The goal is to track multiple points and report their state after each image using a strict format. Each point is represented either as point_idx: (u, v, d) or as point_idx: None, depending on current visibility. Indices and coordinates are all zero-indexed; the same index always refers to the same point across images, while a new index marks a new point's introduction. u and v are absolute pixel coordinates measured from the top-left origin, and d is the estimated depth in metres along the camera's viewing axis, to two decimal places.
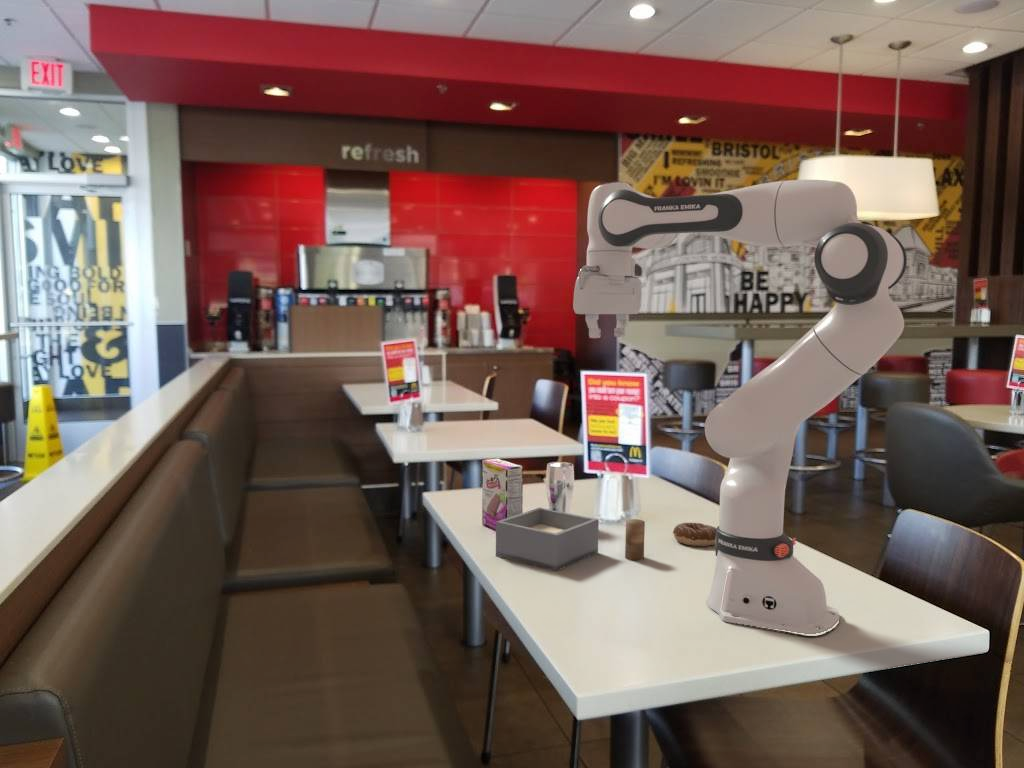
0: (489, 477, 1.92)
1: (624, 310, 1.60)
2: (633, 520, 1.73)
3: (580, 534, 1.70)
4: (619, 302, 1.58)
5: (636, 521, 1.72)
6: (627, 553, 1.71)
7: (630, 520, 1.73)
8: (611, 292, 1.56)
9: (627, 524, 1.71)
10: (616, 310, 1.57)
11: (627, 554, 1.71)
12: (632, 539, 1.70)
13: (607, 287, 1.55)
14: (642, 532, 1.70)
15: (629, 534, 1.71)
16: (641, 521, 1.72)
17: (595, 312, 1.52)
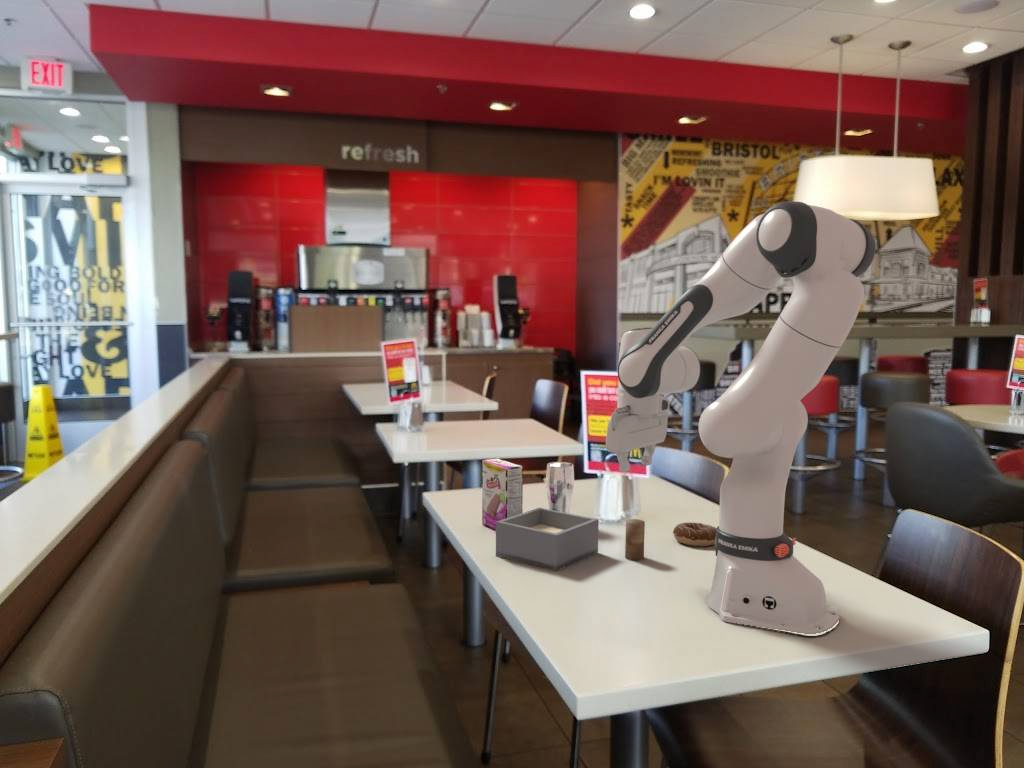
0: (489, 477, 1.92)
1: (651, 442, 1.72)
2: (633, 520, 1.73)
3: (580, 534, 1.70)
4: (647, 436, 1.70)
5: (636, 521, 1.72)
6: (627, 553, 1.71)
7: (630, 520, 1.73)
8: (640, 428, 1.68)
9: (627, 524, 1.71)
10: (644, 444, 1.69)
11: (627, 554, 1.71)
12: (632, 539, 1.70)
13: (636, 425, 1.66)
14: (642, 532, 1.70)
15: (629, 534, 1.71)
16: (641, 521, 1.72)
17: (626, 451, 1.63)
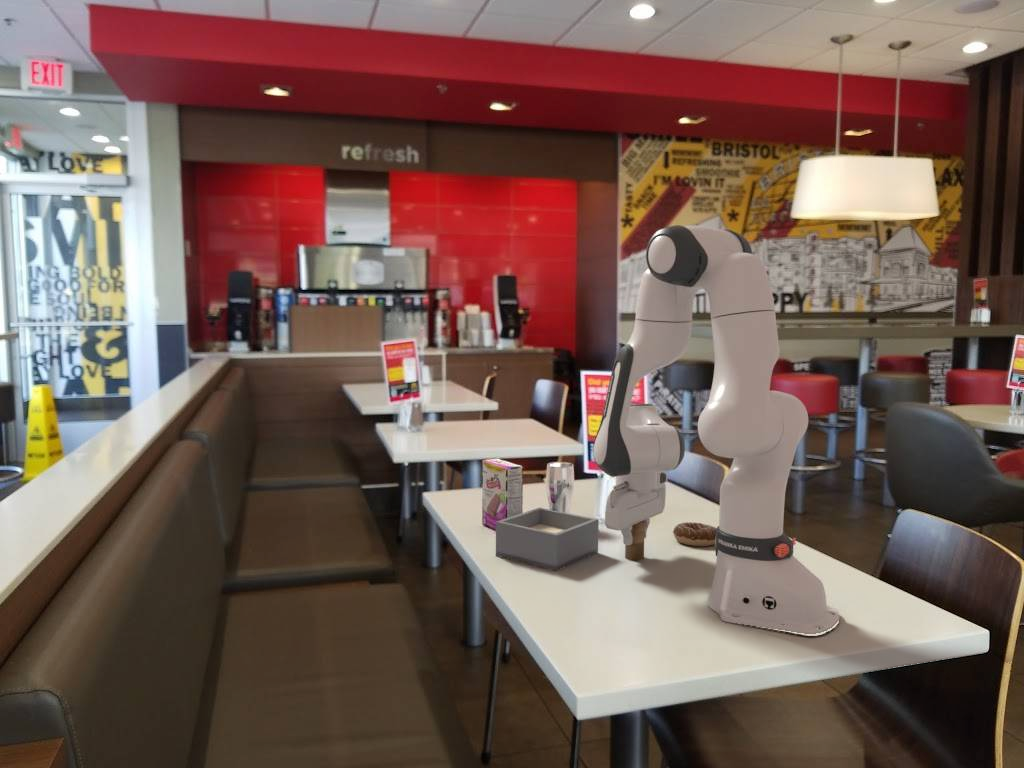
0: (489, 477, 1.92)
1: (650, 515, 1.73)
2: None
3: (580, 534, 1.70)
4: (645, 510, 1.71)
5: None
6: (627, 553, 1.71)
7: None
8: (639, 503, 1.69)
9: None
10: (643, 518, 1.71)
11: (627, 554, 1.71)
12: None
13: (635, 500, 1.68)
14: (642, 532, 1.70)
15: None
16: (641, 521, 1.72)
17: (625, 527, 1.65)
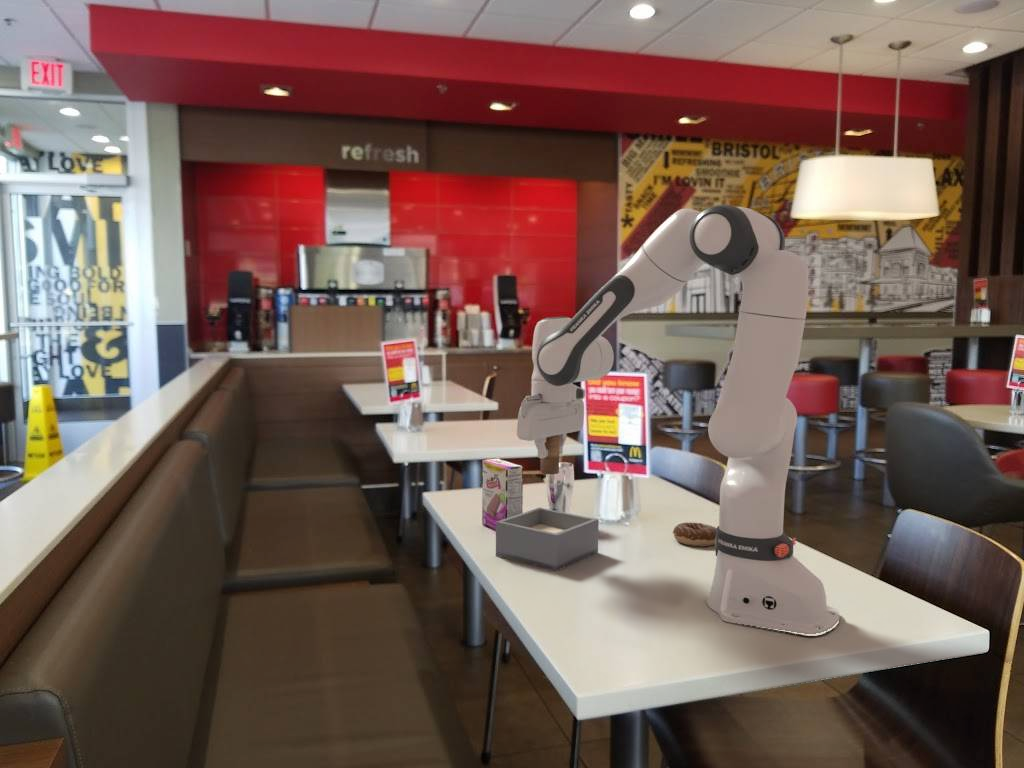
0: (489, 477, 1.92)
1: (566, 430, 1.73)
2: None
3: (580, 534, 1.70)
4: (561, 424, 1.72)
5: None
6: (542, 467, 1.72)
7: None
8: (553, 416, 1.70)
9: None
10: (558, 432, 1.71)
11: (542, 468, 1.72)
12: None
13: (549, 413, 1.68)
14: (556, 446, 1.71)
15: None
16: None
17: (536, 438, 1.65)
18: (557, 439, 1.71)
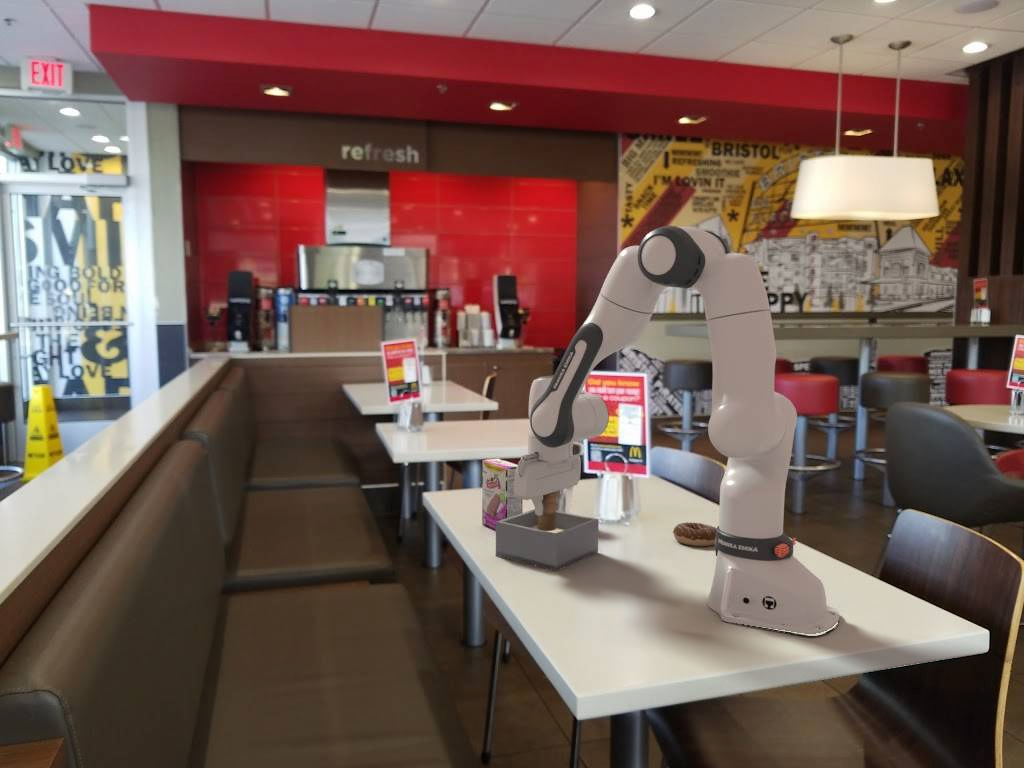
0: (489, 477, 1.92)
1: (563, 486, 1.75)
2: None
3: (580, 534, 1.70)
4: (558, 481, 1.73)
5: None
6: (539, 523, 1.73)
7: None
8: (550, 474, 1.71)
9: None
10: (555, 489, 1.72)
11: (539, 524, 1.73)
12: None
13: (545, 471, 1.69)
14: (553, 502, 1.72)
15: None
16: (553, 492, 1.73)
17: (534, 497, 1.66)
18: (554, 496, 1.72)
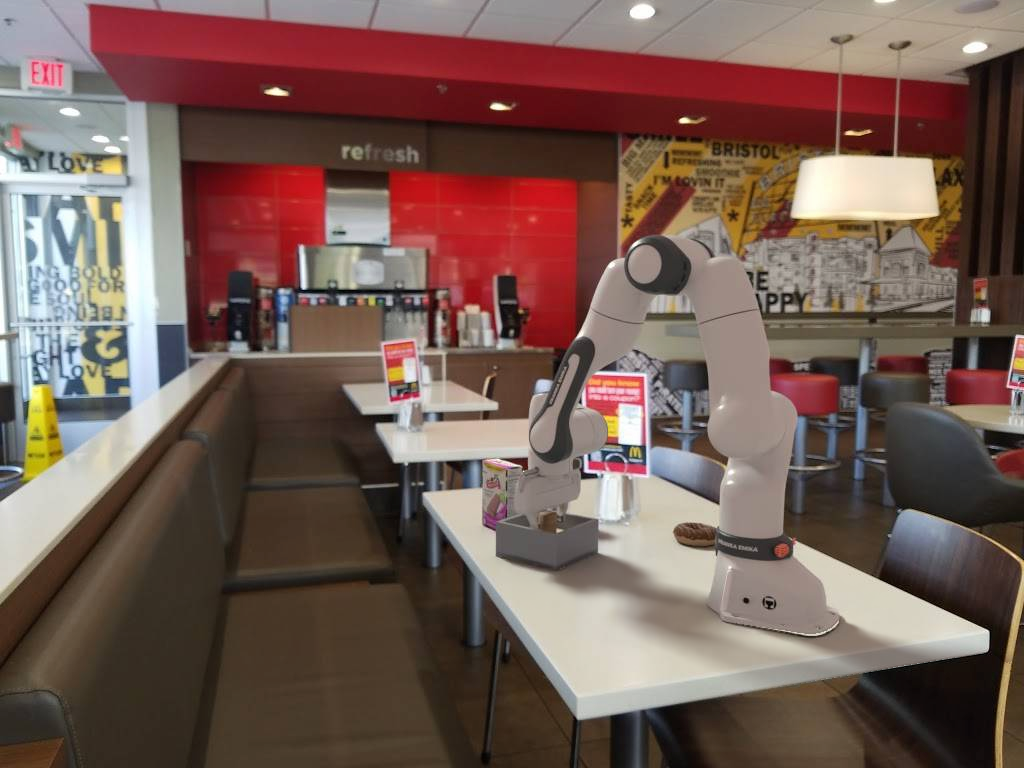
0: (489, 477, 1.92)
1: (563, 501, 1.75)
2: (546, 512, 1.74)
3: (580, 534, 1.70)
4: (558, 495, 1.73)
5: (548, 513, 1.74)
6: None
7: (542, 512, 1.74)
8: (550, 489, 1.71)
9: (539, 516, 1.73)
10: (555, 503, 1.72)
11: None
12: None
13: (546, 486, 1.70)
14: (554, 524, 1.72)
15: (541, 526, 1.72)
16: (553, 513, 1.74)
17: (534, 512, 1.67)
18: (554, 517, 1.72)
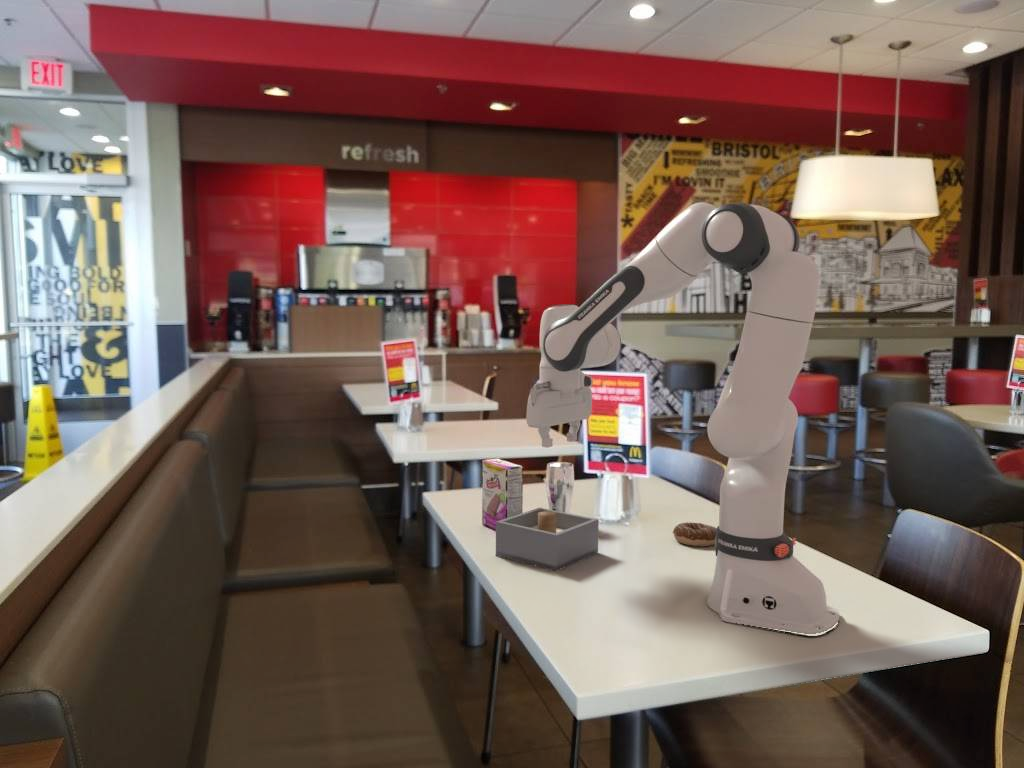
0: (489, 477, 1.92)
1: (575, 418, 1.74)
2: (545, 512, 1.74)
3: (580, 534, 1.70)
4: (570, 412, 1.72)
5: (548, 513, 1.74)
6: None
7: (542, 512, 1.74)
8: (562, 404, 1.70)
9: (539, 516, 1.73)
10: (567, 420, 1.71)
11: None
12: None
13: (558, 400, 1.69)
14: (553, 524, 1.72)
15: (540, 526, 1.72)
16: (553, 513, 1.74)
17: (546, 425, 1.66)
18: (554, 517, 1.72)
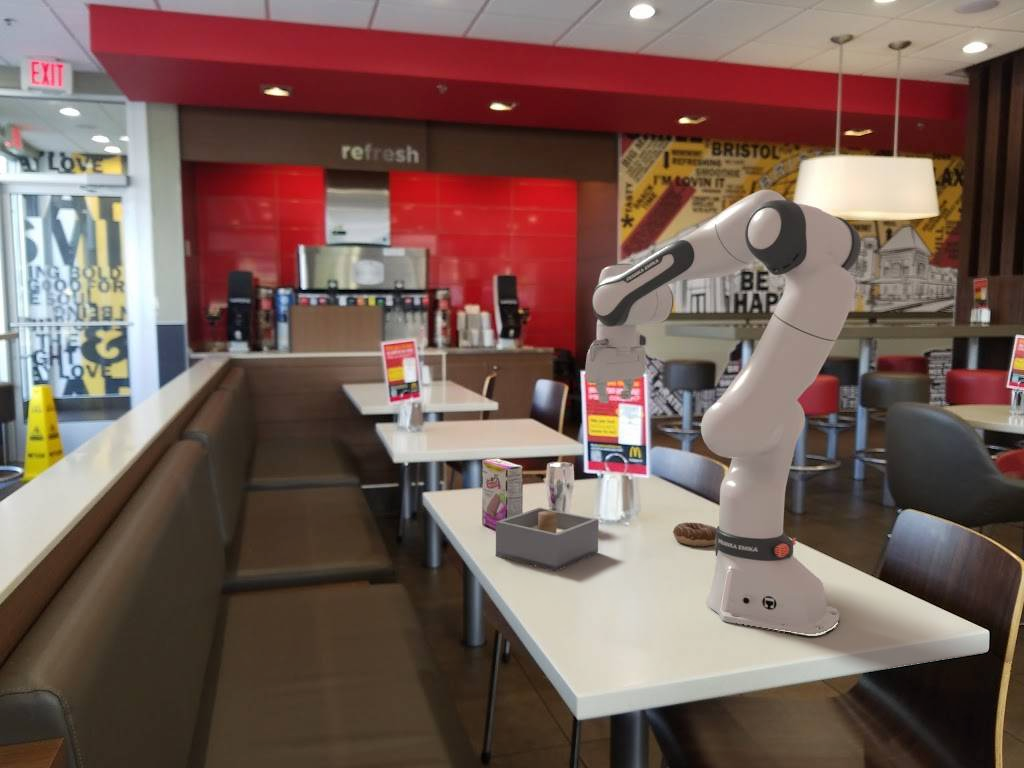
0: (489, 477, 1.92)
1: (630, 376, 1.78)
2: (545, 512, 1.75)
3: (580, 534, 1.70)
4: (625, 370, 1.77)
5: (548, 513, 1.74)
6: None
7: (542, 512, 1.75)
8: (618, 361, 1.74)
9: (539, 516, 1.73)
10: (623, 377, 1.76)
11: None
12: (543, 530, 1.72)
13: (615, 357, 1.73)
14: (554, 523, 1.73)
15: (541, 526, 1.72)
16: (553, 513, 1.74)
17: (604, 381, 1.70)
18: (554, 517, 1.73)
